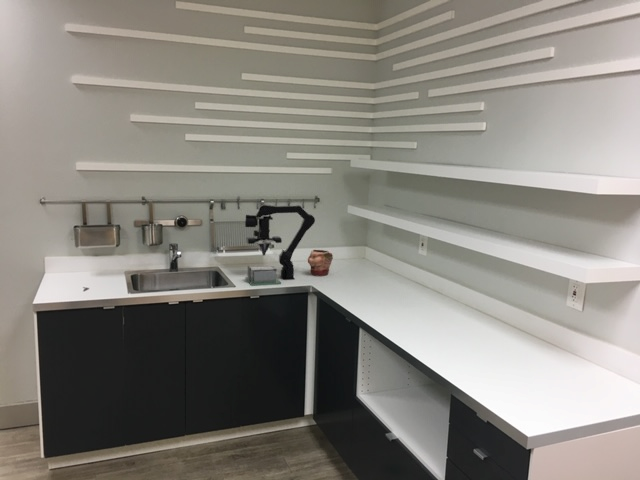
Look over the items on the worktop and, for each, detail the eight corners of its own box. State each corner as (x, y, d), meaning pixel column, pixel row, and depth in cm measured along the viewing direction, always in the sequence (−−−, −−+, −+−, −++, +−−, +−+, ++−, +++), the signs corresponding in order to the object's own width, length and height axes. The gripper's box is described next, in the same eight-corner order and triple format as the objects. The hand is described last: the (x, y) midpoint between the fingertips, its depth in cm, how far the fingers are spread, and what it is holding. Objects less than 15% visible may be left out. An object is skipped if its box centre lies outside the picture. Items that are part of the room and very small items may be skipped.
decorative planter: (322, 269, 315) (323, 247, 313) (338, 272, 308) (339, 249, 306) (302, 275, 299) (302, 251, 297) (319, 278, 292) (319, 254, 290)
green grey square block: (273, 277, 292) (273, 262, 290) (281, 284, 277) (281, 268, 276) (245, 278, 286) (245, 263, 285) (251, 285, 272) (251, 270, 270)
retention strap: (273, 268, 285) (273, 267, 284) (275, 269, 281) (275, 268, 281) (249, 268, 280) (249, 267, 280) (251, 269, 276) (251, 268, 276)
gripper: (276, 225, 295) (276, 252, 297) (244, 225, 288) (244, 253, 291) (282, 227, 284) (281, 255, 287) (248, 228, 278) (248, 257, 281)
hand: (263, 255), depth 287 cm, fingers closed
